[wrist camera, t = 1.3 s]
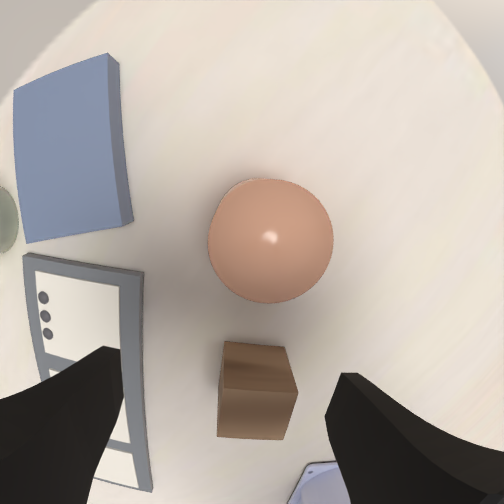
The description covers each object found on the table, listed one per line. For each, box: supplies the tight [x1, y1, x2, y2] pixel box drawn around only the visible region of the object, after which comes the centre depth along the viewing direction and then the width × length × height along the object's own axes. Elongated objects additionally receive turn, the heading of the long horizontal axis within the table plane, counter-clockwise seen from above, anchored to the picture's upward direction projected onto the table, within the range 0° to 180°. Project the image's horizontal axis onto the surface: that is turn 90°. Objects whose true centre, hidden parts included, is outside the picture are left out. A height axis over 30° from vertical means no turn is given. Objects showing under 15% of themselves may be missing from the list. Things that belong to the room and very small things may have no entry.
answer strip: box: [22, 253, 153, 493], centre depth 20 cm, size 24×9×1 cm, turn 171°
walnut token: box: [217, 341, 298, 440], centre depth 18 cm, size 4×4×5 cm
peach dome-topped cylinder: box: [208, 178, 333, 303], centre depth 15 cm, size 5×5×6 cm
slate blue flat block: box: [13, 53, 134, 244], centre depth 15 cm, size 10×7×2 cm
